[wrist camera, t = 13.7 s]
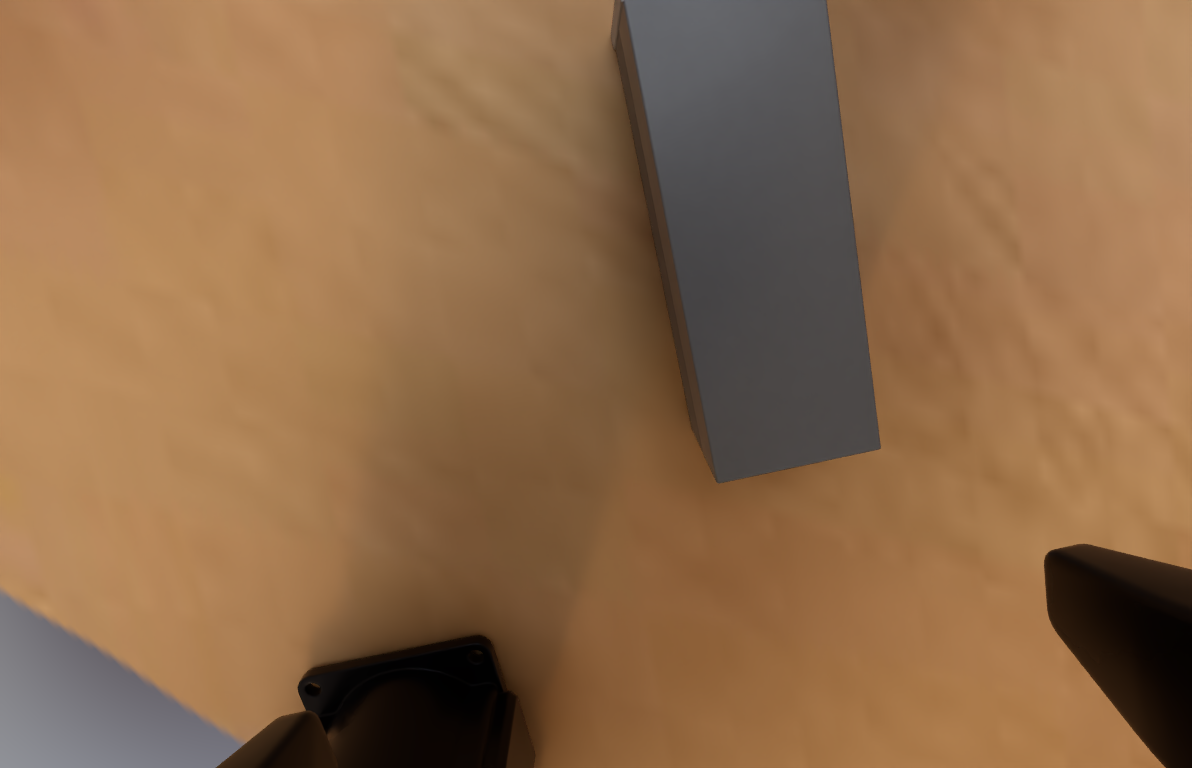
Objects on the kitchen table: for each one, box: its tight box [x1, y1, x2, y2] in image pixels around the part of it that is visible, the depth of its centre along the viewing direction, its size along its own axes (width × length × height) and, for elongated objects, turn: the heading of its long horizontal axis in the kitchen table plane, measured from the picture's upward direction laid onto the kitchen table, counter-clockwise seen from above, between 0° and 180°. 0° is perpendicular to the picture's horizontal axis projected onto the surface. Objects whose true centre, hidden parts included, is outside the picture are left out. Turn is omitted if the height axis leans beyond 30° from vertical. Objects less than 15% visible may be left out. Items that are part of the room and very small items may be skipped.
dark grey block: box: [611, 0, 881, 483], centre depth 16 cm, size 4×11×4 cm, turn 13°
